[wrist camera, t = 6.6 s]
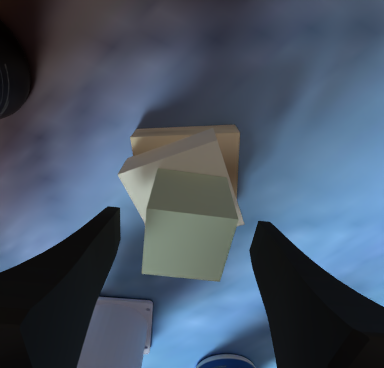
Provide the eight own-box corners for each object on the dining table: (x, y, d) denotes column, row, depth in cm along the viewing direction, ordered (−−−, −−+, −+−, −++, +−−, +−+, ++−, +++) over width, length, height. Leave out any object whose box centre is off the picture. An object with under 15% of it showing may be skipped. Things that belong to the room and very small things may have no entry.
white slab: (237, 203, 18) (244, 224, 16) (162, 226, 19) (159, 248, 17) (213, 127, 15) (217, 139, 13) (127, 158, 16) (117, 174, 14)
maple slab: (230, 203, 21) (235, 221, 19) (149, 207, 21) (144, 225, 19) (233, 122, 18) (240, 132, 16) (137, 126, 18) (130, 137, 16)
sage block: (213, 231, 16) (219, 281, 13) (152, 224, 16) (141, 273, 12) (226, 177, 14) (238, 219, 11) (157, 168, 14) (146, 208, 10)
